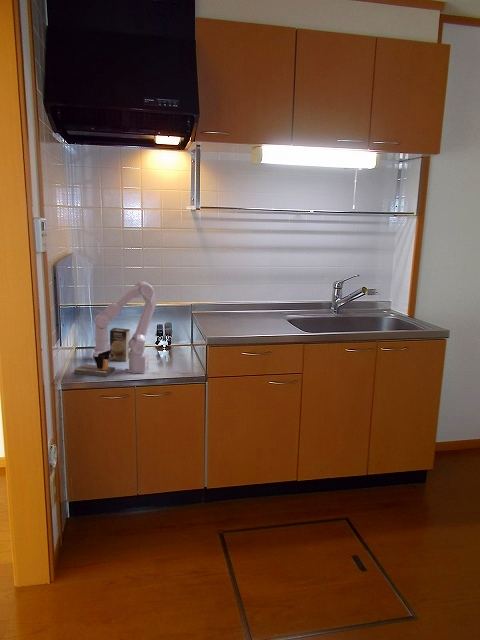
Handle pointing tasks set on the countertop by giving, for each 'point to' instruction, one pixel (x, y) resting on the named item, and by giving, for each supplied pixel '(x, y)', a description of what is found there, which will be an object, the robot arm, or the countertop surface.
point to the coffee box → (119, 344)
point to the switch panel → (93, 371)
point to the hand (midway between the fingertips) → (102, 367)
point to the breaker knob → (105, 364)
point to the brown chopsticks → (96, 365)
